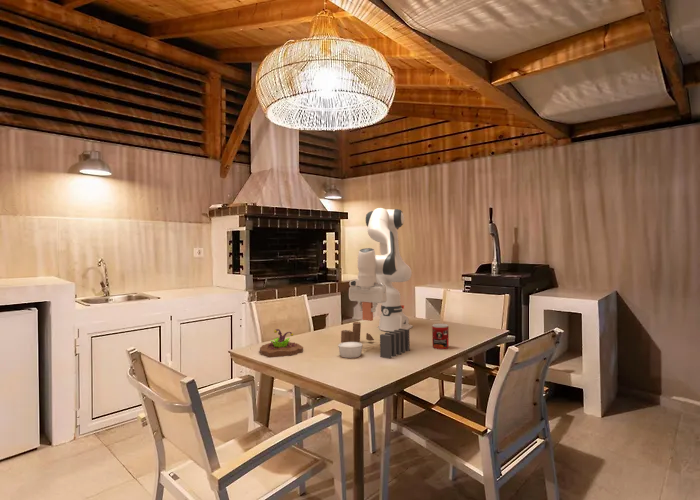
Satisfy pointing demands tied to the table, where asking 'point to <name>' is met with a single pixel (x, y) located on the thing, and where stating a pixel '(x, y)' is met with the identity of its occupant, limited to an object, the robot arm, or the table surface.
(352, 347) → the ramekin
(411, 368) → the table surface
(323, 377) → the table surface
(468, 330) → the table surface
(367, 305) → the tile
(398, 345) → the tile
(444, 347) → the canned food
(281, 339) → the plant
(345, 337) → the wooden block set
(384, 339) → the tile
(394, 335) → the tile
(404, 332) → the tile
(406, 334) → the tile
